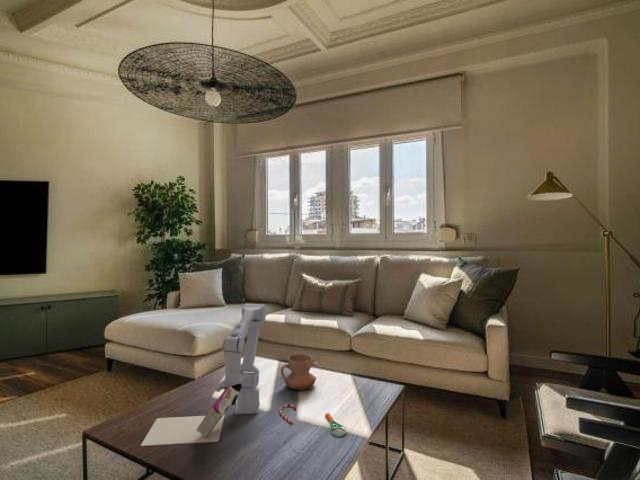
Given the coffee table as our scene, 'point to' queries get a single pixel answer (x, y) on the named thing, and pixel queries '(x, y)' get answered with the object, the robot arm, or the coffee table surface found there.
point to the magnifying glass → (333, 423)
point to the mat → (180, 431)
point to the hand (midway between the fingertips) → (232, 403)
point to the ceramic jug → (299, 372)
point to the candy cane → (283, 414)
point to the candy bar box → (217, 411)
